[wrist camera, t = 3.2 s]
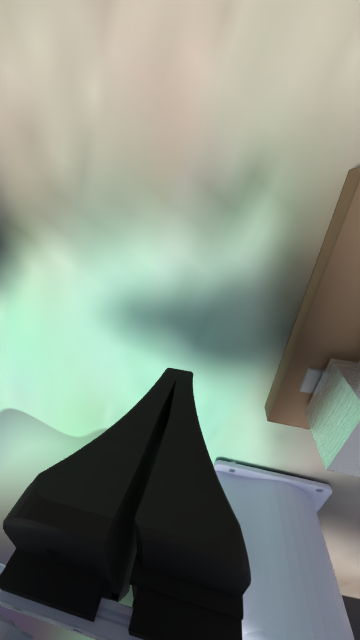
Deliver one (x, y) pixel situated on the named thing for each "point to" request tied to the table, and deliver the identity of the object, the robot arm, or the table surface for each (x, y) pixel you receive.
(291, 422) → the gauge board
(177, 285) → the table surface
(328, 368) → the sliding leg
